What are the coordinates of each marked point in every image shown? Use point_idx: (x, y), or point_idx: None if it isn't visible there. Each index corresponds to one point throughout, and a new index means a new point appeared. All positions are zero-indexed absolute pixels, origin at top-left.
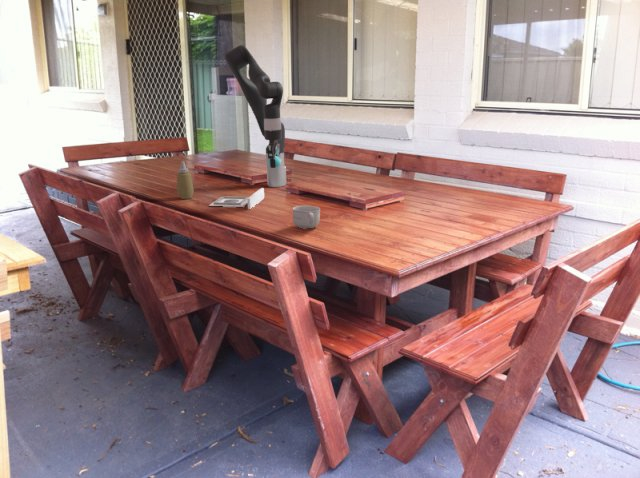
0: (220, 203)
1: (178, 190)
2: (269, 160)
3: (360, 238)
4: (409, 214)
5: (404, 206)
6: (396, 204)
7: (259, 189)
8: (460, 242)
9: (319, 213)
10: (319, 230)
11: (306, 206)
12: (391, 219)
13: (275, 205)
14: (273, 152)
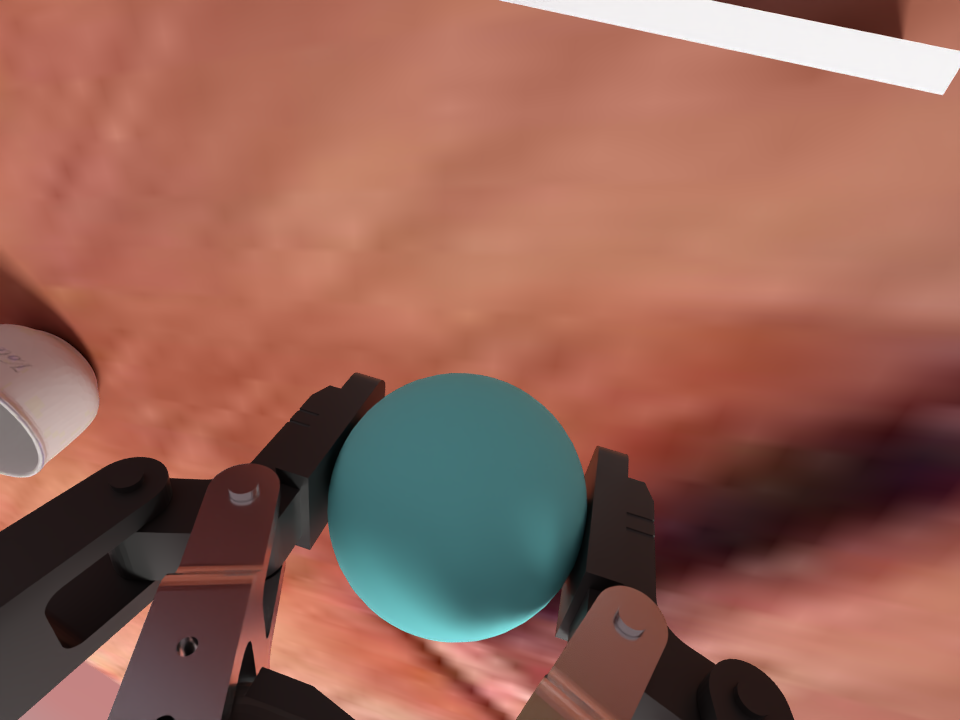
0: None
1: None
2: (362, 442)
3: (24, 501)
4: (325, 683)
5: (436, 714)
6: (469, 710)
7: (851, 32)
8: (93, 657)
9: (14, 457)
10: None
11: (28, 430)
12: None
13: (513, 216)
14: (55, 674)
